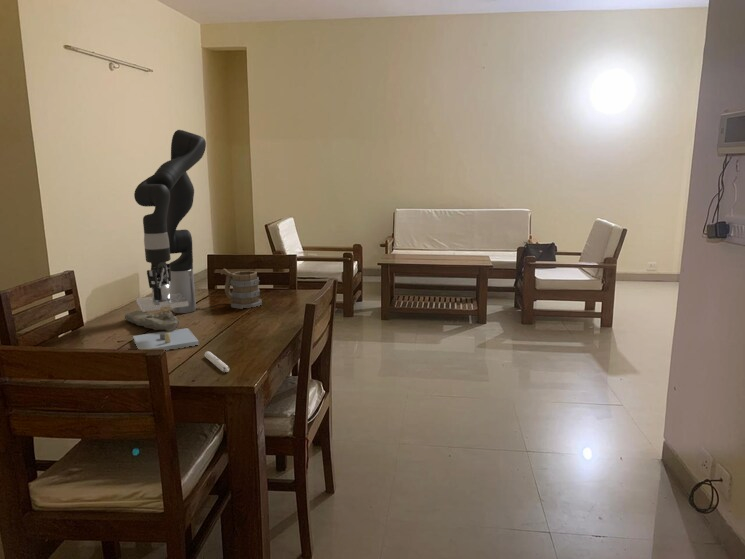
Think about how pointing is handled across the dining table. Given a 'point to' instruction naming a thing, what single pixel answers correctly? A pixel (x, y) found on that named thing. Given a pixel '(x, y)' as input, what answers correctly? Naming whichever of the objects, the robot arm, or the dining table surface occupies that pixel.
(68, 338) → the dining table surface
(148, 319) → the long grey stone
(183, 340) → the base plate
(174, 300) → the flange plate
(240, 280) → the tankard
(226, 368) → the marker
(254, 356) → the dining table surface
